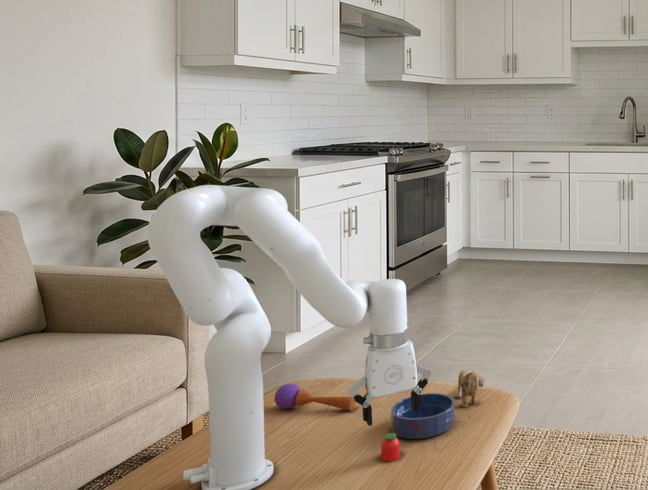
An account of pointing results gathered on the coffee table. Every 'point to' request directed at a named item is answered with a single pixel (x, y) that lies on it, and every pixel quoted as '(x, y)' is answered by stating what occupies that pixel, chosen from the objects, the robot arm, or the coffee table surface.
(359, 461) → the coffee table surface
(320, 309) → the robot arm
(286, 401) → the maraca
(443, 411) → the bowl
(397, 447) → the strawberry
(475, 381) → the tan animal figure
